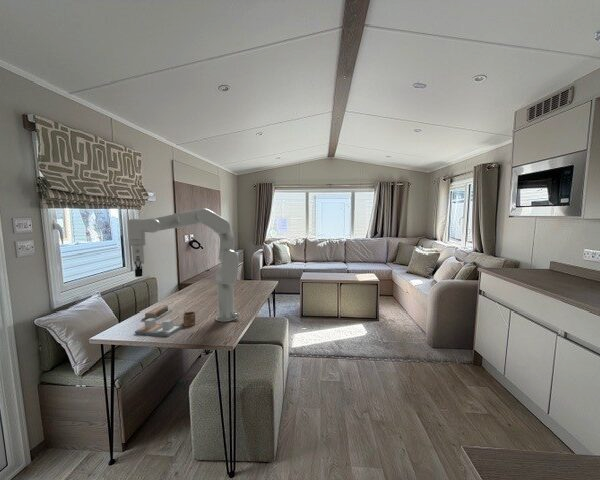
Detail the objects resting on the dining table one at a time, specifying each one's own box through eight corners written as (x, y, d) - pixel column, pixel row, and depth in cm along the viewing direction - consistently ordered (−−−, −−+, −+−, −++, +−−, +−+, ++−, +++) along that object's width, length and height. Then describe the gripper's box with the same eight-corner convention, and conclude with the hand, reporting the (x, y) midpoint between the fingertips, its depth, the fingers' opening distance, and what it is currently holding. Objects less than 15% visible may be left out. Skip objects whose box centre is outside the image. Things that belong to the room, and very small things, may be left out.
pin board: (182, 328, 163) (182, 317, 162) (168, 336, 151) (167, 325, 151) (151, 325, 167) (150, 315, 167) (135, 334, 155) (134, 322, 155)
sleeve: (195, 321, 173) (195, 311, 173) (195, 324, 168) (194, 314, 167) (184, 322, 172) (184, 312, 171) (183, 326, 166) (183, 315, 165)
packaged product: (157, 313, 176) (141, 313, 177) (157, 321, 176) (141, 321, 177) (172, 304, 194) (157, 304, 195) (172, 311, 194) (157, 311, 195)
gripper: (145, 243, 147) (147, 277, 149) (145, 241, 163) (146, 271, 164) (128, 244, 144) (130, 278, 145) (129, 242, 159) (131, 273, 160)
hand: (139, 275), depth 155 cm, fingers open, 9 cm apart
